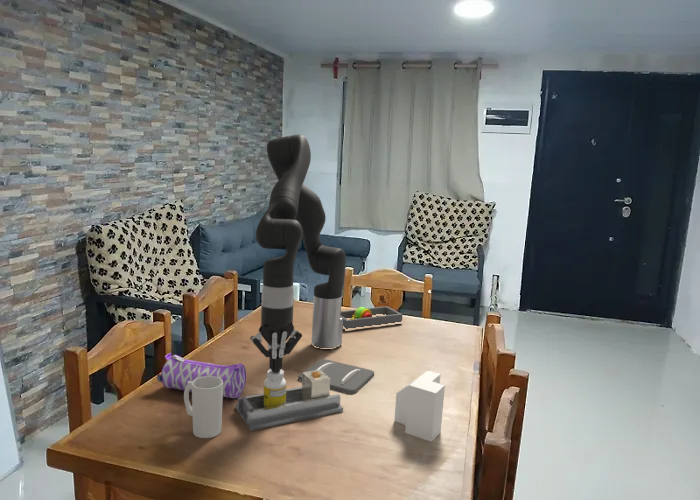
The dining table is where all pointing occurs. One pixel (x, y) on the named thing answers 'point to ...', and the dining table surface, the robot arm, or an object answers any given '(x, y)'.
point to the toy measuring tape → (362, 313)
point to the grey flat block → (342, 375)
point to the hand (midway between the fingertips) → (275, 371)
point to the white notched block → (421, 406)
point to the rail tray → (292, 403)
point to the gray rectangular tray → (390, 317)
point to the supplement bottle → (274, 389)
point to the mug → (205, 405)
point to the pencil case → (202, 374)
